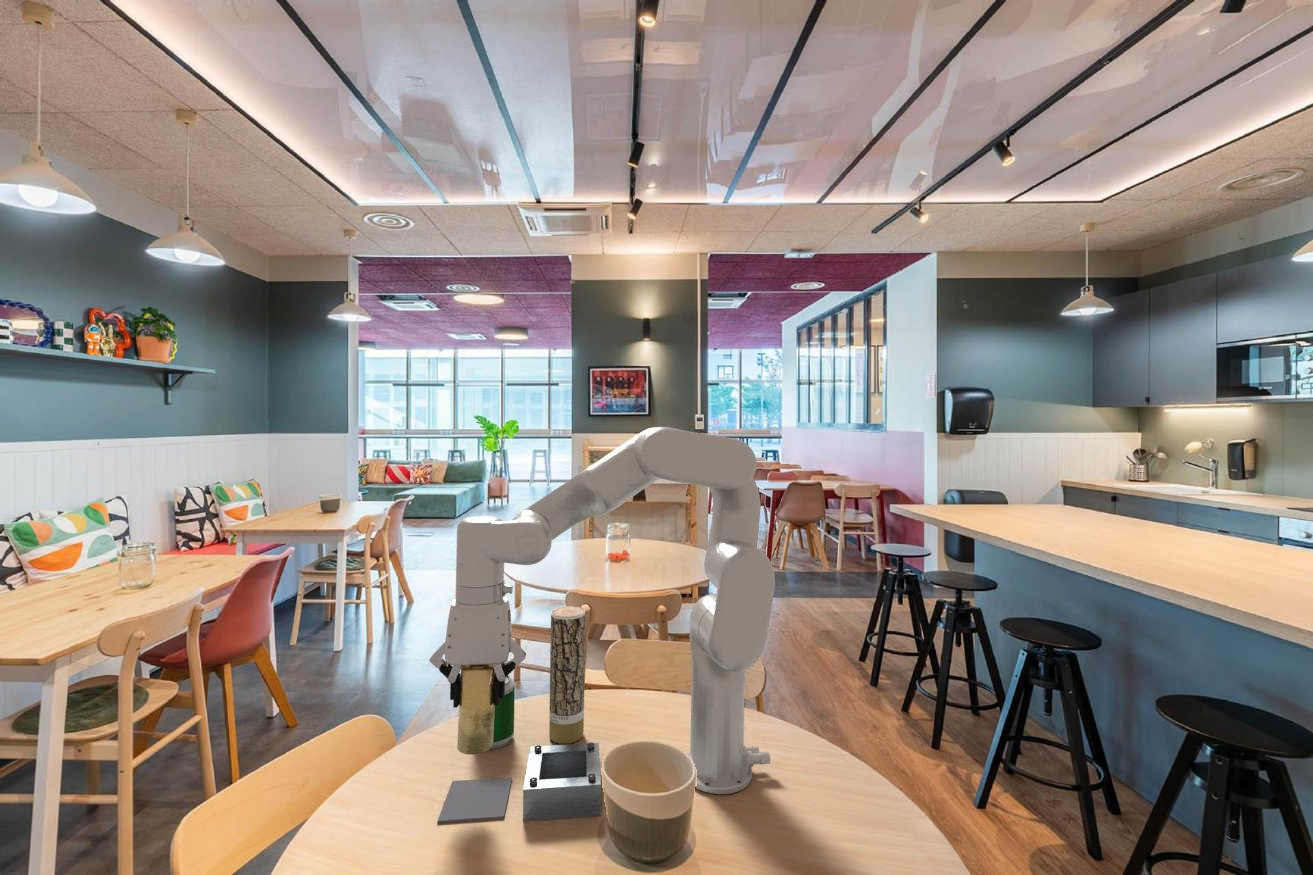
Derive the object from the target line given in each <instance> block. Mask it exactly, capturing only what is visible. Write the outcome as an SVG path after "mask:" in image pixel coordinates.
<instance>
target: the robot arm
mask: <svg viewBox="0 0 1313 875" xmlns="http://www.w3.org/2000/svg"><path fill="white" fill-rule="evenodd" d="M756 471H757V457H756V455H755V453H754V451H753V449H752V447H751V446H749V445H748V443H746V442H744V441H742V440H741V439H737V438H733V437H727V436H720V435H713V434H709V433H708V434H707V433H700V432H696V431H689V430H684V429H679V428H674V427H669V426H657V427H656V426H655V427H649V428H647V429H645V430H644V429H643V431H641V432H639V433H638V434H636V435H634V436H633V437H631V438H630V439H629V440H627V441H626V442H624V443H623V444H621V445H620V446H618V447H617V448H615V449H614V450H612V451H611V452H609V453H607V455H605V456H603V457H602V458H601V459H599V460H597V461H596V462H595V463H593V464H591V465H589V466H588V467H587V468H585V469H584V470H582V471H581V472H579V473H578V474H576V475H575V476H573V477H572V478H571V479H569V480H568V481H566V482H565V483H564V484H562V485H560V486H558V487H557V488H556V489H554V490H552V491H550V492H549V493H548V494H546V495H544V496H543V497H542V498H540V499H539V500H537V501H536V502H534V503H533V504H531V505H529V506H528V507H526V508H525V509H523V510H522V511H521V512H520V513H518V514H517V515H516V516H515V517H514V518H512V520H509V521H503V520H502V519H501V518H499V517H496V516H489V515H488V516H487V515H486V516H483V515H481V516H480V515H479V516H471V517H466V518H463V519H461V520H460V521H459V523H458V524H457V526H456V527H457V528H456V560H455V561H456V564H455V565H456V566H455V598H454V599H453V600H451V604H450V608H449V613H448V617H447V624H446V632H445V634H446V635H445V641H444V642H443V643H442V644H441V645H440V646H439V648H437V650H435V651H434V653H432V655H431V656H430V658H429V659H428V660H429V663H430V664H432V665H433V666H434V667H435V668H436V669H438V670H439V673H441V674H442V675H443V676H444V677H445V678H446V679H447V681H448V683H449V684H450V687H449V688H450V689H449V691H450V692H449V700H450V701H453V703H452V704H453V709H455V708H459V700H460V679H461V666H462V665H492V664H493V667H494V670H495V673H496V675H497V676H496V680H495V682H494V705H495V706H498V705H499V702H500V699H501V698H504V695H505V678H506V677H507V676H508V675H509V676H510V674H511V673H512V672H513V671H514V670H515V669H516V667H518V666H520V664H521V663H523V661H524V660H525V659H526V657H527V652H525V650H524V649H523V648H522V647H521V646H520V644H518V643H517V642H516V641H515V640H514V639H513V636H512V632H513V630H512V629H513V628H512V614H511V606H510V601H509V597H506V595H509V594H511V595H512V594H513V590H514V587H513V585H509V584H507V583H506V582H505V564H510V565H511V564H512V565H517V566H518V565H520V566H532V565H535V564H538V563H540V562H542V561H543V560H544V559H545V558H546V557H548V555H549V553H550V551H551V548H552V542H553V540H555V539H556V538H557V537H559V536H561V535H562V534H563V533H564V532H566V531H568V530H570V529H571V528H572V527H574V526H575V525H577V524H580V523H581V522H583V521H586V520H588V519H590V518H594V517H597V516H603V515H606V514H608V513H611V512H612V511H615V510H616V509H618V508H619V507H621V505H624V503H626V502H628V501H629V500H630V499H632V498H633V497H635V496H636V495H637V494H639V493H640V492H641V491H643V490H644V489H646V488H647V487H649V486H651V485H652V484H654V483H656V482H657V481H658V480H660V479H661V480H665V481H670V482H676V483H681V484H686V485H692V486H693V485H694V486H700V487H708V488H709V492H710V493H711V497H712V513H711V515H712V516H711V524H710V529H709V536H708V540H707V546H706V552H705V556H704V563H703V567H704V574H705V575H706V578H707V579H708V580H709V582H710V583H711V584H712V585H713V586H714V587H716V589H717V592H716V593H709V594H705V595H704V596H702V597H700V598H699V599H698V600H697V601H696V602H695V604H694V605H693V607H692V610H691V611H690V615H689V620H688V629H689V630H688V632H689V635H688V636H689V644H690V654H691V655H690V656H691V657H690V658H691V686H690V687H691V689H690V743H689V744H690V745H689V747H690V749H689V753H687V754H686V755H688V756H690V758H691V760H693V762H694V764H695V767H696V769H697V786H696V788H695V789H697V791H698V790H699V791H701V792H704V793H707V794H713V795H730V794H733V793H734V794H735V793H737V792H740V791H741V790H744V789H745V788H746V787H748V786H749V785H750V783H751V781H752V779H753V767H754V765H770V764H771V755H770V752H769V751H760V750H759V746H757V745H756V746H747V747H746V745H745V742H744V741H745V740H744V738H745V694H746V693H745V692H746V671H747V670H749V669H750V668H752V667H753V666H754V665H755V664H756V663H757V662H758V661H759V660H760V658H761V656H762V654H763V652H764V649H765V646H766V641H767V637H768V633H769V632H768V631H769V625H770V621H771V620H770V619H771V613H772V608H773V600H774V594H775V586H776V576H775V571H774V566H773V563H772V562H771V560H770V559H769V557H768V556H767V555H766V553H764V551H762V550H761V549H760V548H759V547H757V546H758V537H759V528H760V522H761V510H762V509H761V508H762V507H761V505H762V504H761V495H760V492H759V489H758V488H759V487H758V485H757V482H756V480H755V478H754V476H755V474H756ZM510 653H512V655H514V657H513V658H511V659H510V660H509V661H508V659H509V654H510ZM443 656H444V658H443ZM506 662H507V663H506Z"/></svg>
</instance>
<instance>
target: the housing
mask: <svg viewBox="0 0 1313 875" xmlns="http://www.w3.org/2000/svg"><path fill="white" fill-rule="evenodd" d="M529 748H530V749H529V754H528V760H527V766H526V773H525V779H524V783H523V788H522V789H523V791H522V793H523V794H522V795H523V796H522V806H523V807H522V822H535V821H536V822H537V821H549V820H550V821H551V820H563V819H575V818H577V819H578V818H589V817H590V818H591V817H600V816H601V810H602V809H601V806H602V805H601V801H602V800H601V799H602V797H601V796H602V795H601V794H602V793H601V792H602V791H601V790H602V781H601V779H602V778H601V763H600V762H601V759H600V743H599V742H593V741H592V742H586V743H571V744H554V745H540V744H539V745H535V746H530V747H529Z"/></svg>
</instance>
